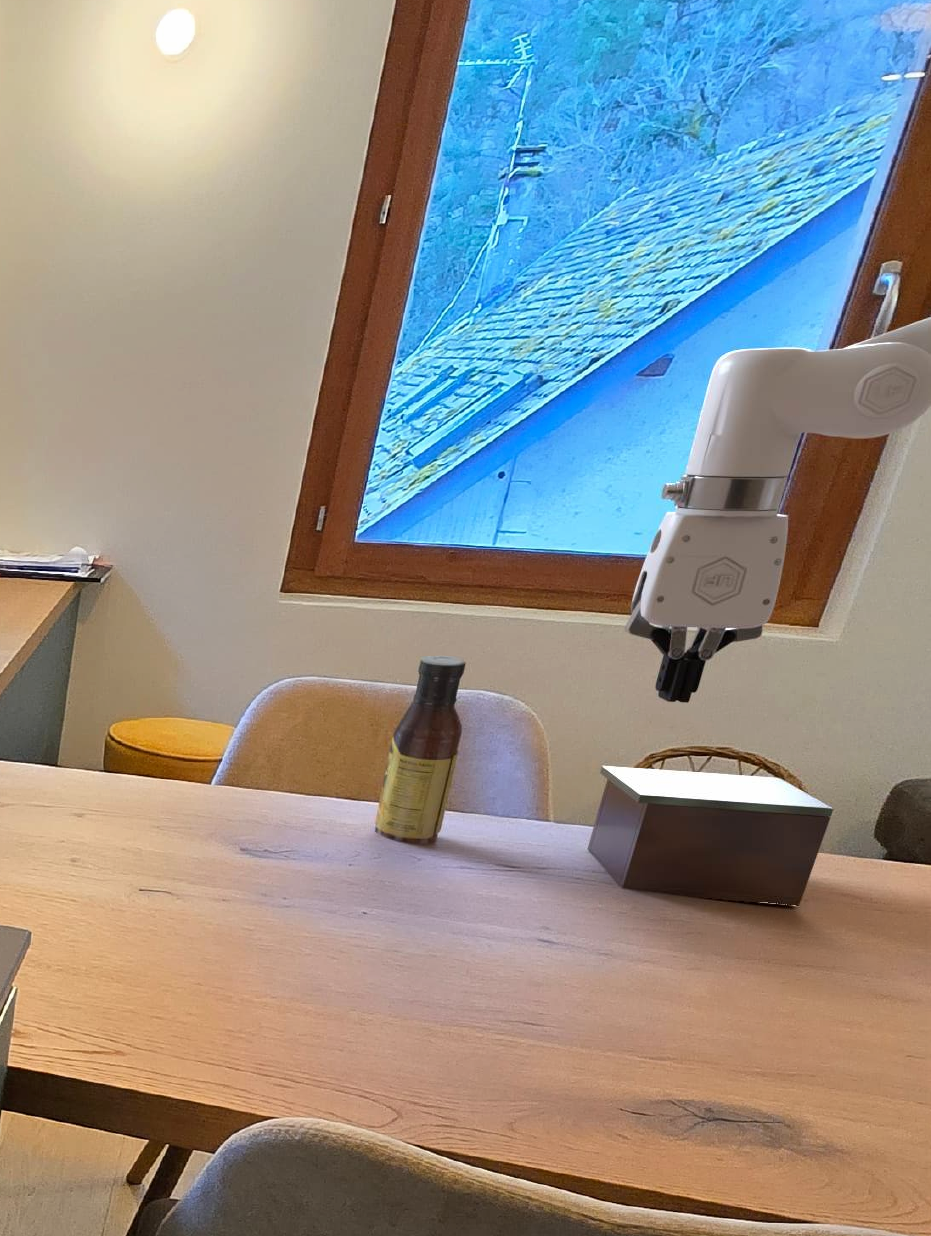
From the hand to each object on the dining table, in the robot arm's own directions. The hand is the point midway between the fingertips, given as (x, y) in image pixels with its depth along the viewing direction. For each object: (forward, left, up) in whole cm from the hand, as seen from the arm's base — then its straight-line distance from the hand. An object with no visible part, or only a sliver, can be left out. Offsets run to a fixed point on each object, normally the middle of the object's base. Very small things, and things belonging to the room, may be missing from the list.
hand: (673, 699), depth 129 cm
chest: (-6, 0, -18) cm, 19 cm away
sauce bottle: (+19, -4, -18) cm, 27 cm away
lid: (-5, 0, -9) cm, 10 cm away
